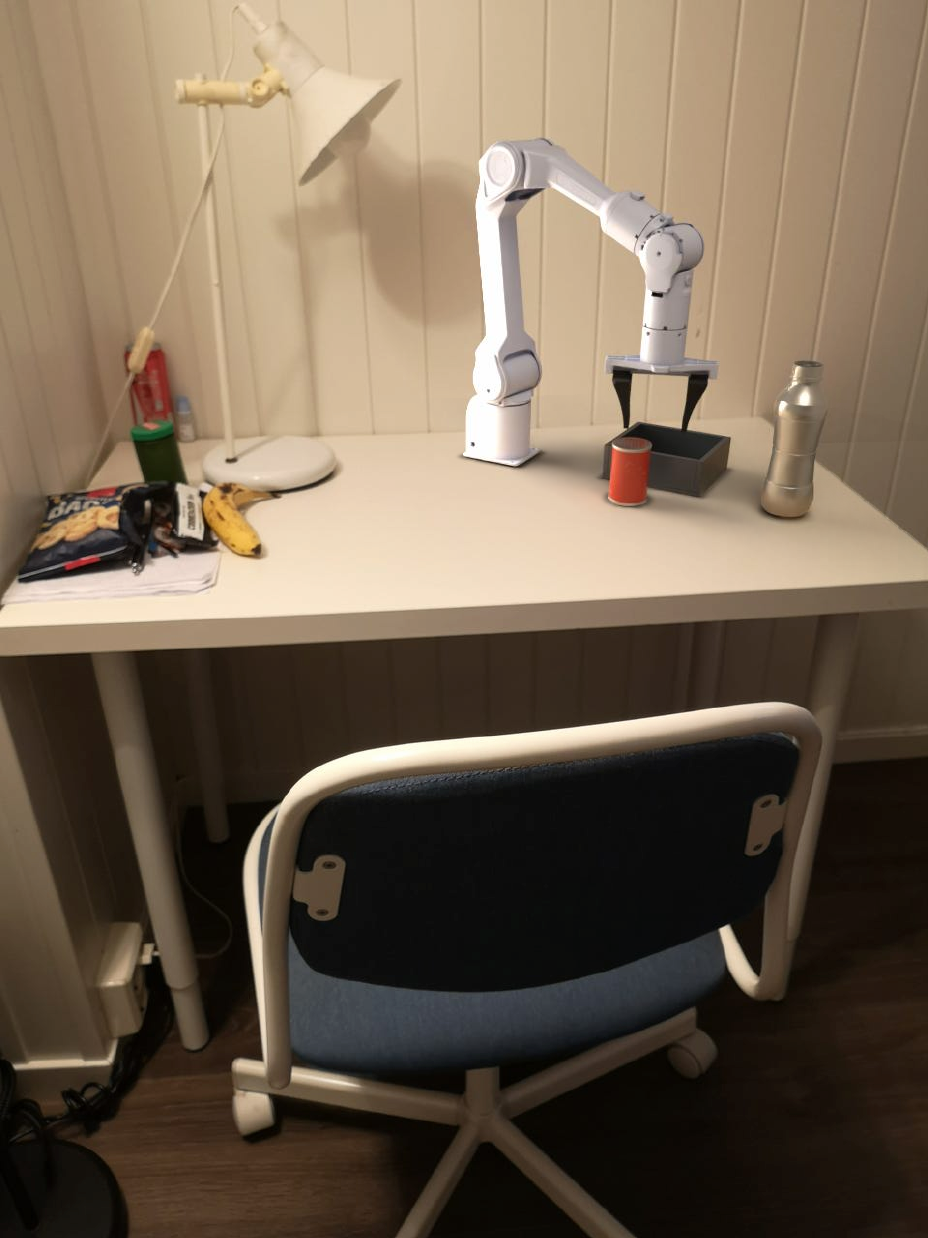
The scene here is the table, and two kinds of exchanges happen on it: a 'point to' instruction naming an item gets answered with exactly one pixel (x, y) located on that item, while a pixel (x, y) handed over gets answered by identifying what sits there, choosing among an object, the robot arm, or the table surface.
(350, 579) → the table surface
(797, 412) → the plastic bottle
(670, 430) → the drawer
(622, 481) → the tin can
